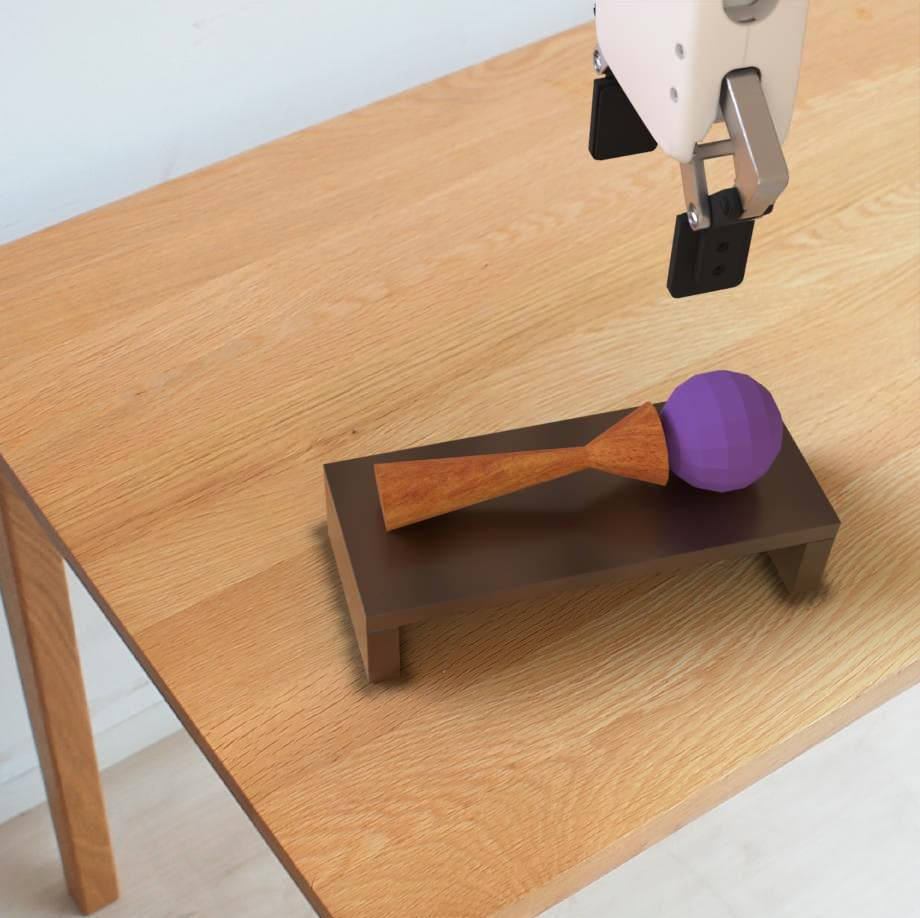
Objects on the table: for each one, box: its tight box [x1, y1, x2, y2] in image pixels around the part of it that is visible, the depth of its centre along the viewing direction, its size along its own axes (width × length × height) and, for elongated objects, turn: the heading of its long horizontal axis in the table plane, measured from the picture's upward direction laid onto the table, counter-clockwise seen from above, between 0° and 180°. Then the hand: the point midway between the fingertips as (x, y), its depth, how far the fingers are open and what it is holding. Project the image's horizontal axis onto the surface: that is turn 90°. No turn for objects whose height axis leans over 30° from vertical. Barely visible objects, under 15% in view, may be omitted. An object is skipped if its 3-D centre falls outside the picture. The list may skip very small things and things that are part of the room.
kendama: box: [374, 369, 784, 531], centre depth 71 cm, size 6×6×20 cm
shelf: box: [322, 383, 842, 684], centre depth 75 cm, size 24×10×6 cm, turn 104°
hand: (661, 217), depth 63 cm, fingers open, 9 cm apart
